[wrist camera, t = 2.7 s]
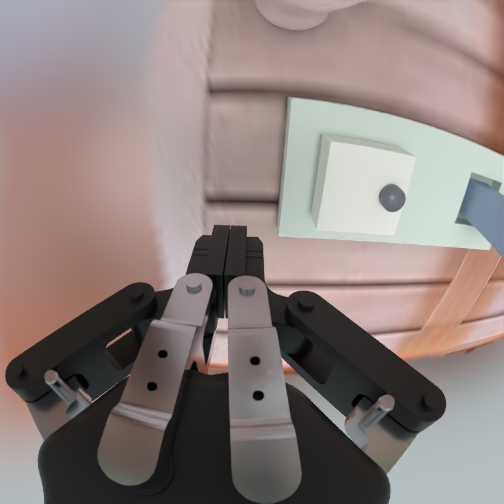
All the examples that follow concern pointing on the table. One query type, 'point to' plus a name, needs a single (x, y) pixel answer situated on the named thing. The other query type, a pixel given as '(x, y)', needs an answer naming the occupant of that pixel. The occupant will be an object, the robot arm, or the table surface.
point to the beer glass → (300, 11)
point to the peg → (485, 212)
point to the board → (421, 185)
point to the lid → (360, 185)
